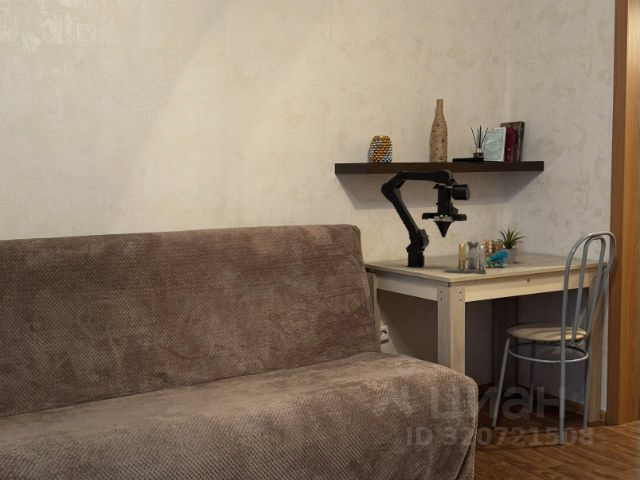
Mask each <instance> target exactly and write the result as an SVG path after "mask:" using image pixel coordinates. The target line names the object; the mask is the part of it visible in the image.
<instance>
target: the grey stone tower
mask: <svg viewBox="0 0 640 480" xmlns="http://www.w3.org/2000/svg"><path fill="white" fill-rule="evenodd" d="M466 245H467V246H468V256H473V258H472V259H469V260H467V261H468V263H467V269H478V271H485V270H486V269H485V267H486V260H485V259H486V245H480V242H479V241H467V243H466Z"/></svg>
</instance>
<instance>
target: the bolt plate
mask: <svg viewBox="0 0 640 480" xmlns="http://www.w3.org/2000/svg"><path fill="white" fill-rule="evenodd" d="M443 271H444V273H445V274H446V273H448V274H449V273H450V274H470V273H476V274H478V275H485V274H486V273H487V272H486V269H485V271H478V268H477V269H468V268H465V269H458V268H450V267H449V268H446V267H445V269H444V270H443Z"/></svg>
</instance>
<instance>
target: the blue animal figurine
mask: <svg viewBox="0 0 640 480" xmlns="http://www.w3.org/2000/svg"><path fill="white" fill-rule="evenodd" d="M507 255H508V253H507V251H506V250H505V251H502V250H501V249H500V250H499V253H498V251H495V252H494V255H492V254H491V255H490V256H489V258H485V264H486V265H487V266H488V267H491V268H492V269H495V266H496V265H498V266H500V268H502V269H503V268H504V267H505V266H504V265H503V264H504V263H503V261H504V258H507Z"/></svg>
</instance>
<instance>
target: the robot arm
mask: <svg viewBox="0 0 640 480" xmlns="http://www.w3.org/2000/svg"><path fill="white" fill-rule="evenodd" d="M406 181H428V182H433V183H436V184H435V185H434V186H433V187H432V189H433V190H437V201H436V202H435V206H436V209H437V211H436V212H429V211H428V212H423V213H422V215H421V220H425V221H426V220H427V221H429V220H433V223H435V225H436V227H437V229H438V231H439V233H440V235H441V237H442V238H446V236H447V233H448V231H449V228H450V226H451V225H452V223H455V222H466V221H467V220H468V215H467V214H466V213H459V209H458V208H457V207H455V206H454V202H452V199H453V200H454V201H469V200H470V199H471V198H470V197H471V191H470V187H469V184H468V183H464V184H463V183H462V184H458V182H457V181H456V179H455V177H454V174H453V172H452V171H451V170H449V169H439V170H435V171H434V170H433V171H408V170H400V171H398V172H397V174H396V175H395V176H393V177H392V178H390V179H389V180H388V181H387V182H384V183H383V184H382V185H381V187H380V192H381V194H382V195H383V197H384V198H385V199H386V200H388V202H389V203H391V204H392V207H393V208H394V209H395V212H396V213H397V215H398V216H399V218H400V220H401V221H402V224H403V225H404V227H405V229H406V230H407V233H408V239H409V241H410V243H408V245H407V246H406V247H405V251H406V253H407V265H406V267H407V268H409V267H410V268H423V267H424V266H425V264H426V263H425V261H426V259H425V258H426V257H425V255H424V252H425V251H426V248H427V247H428V246H429V245H430V244H429V243H430V239H429V238H430V236H429V235H428V233H427V232H426V231H427V230H425V228H422V229H420V227H418V225H417V224H416V222H415V220H414V218H413V216H412V215H411V212H410V211H409V209H408V208H407V205H406V204H405V202H404V200H403V199H402V193H401V192H402V191H401V190H400V189H401V188H402V187H403V185H405V182H406Z"/></svg>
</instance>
